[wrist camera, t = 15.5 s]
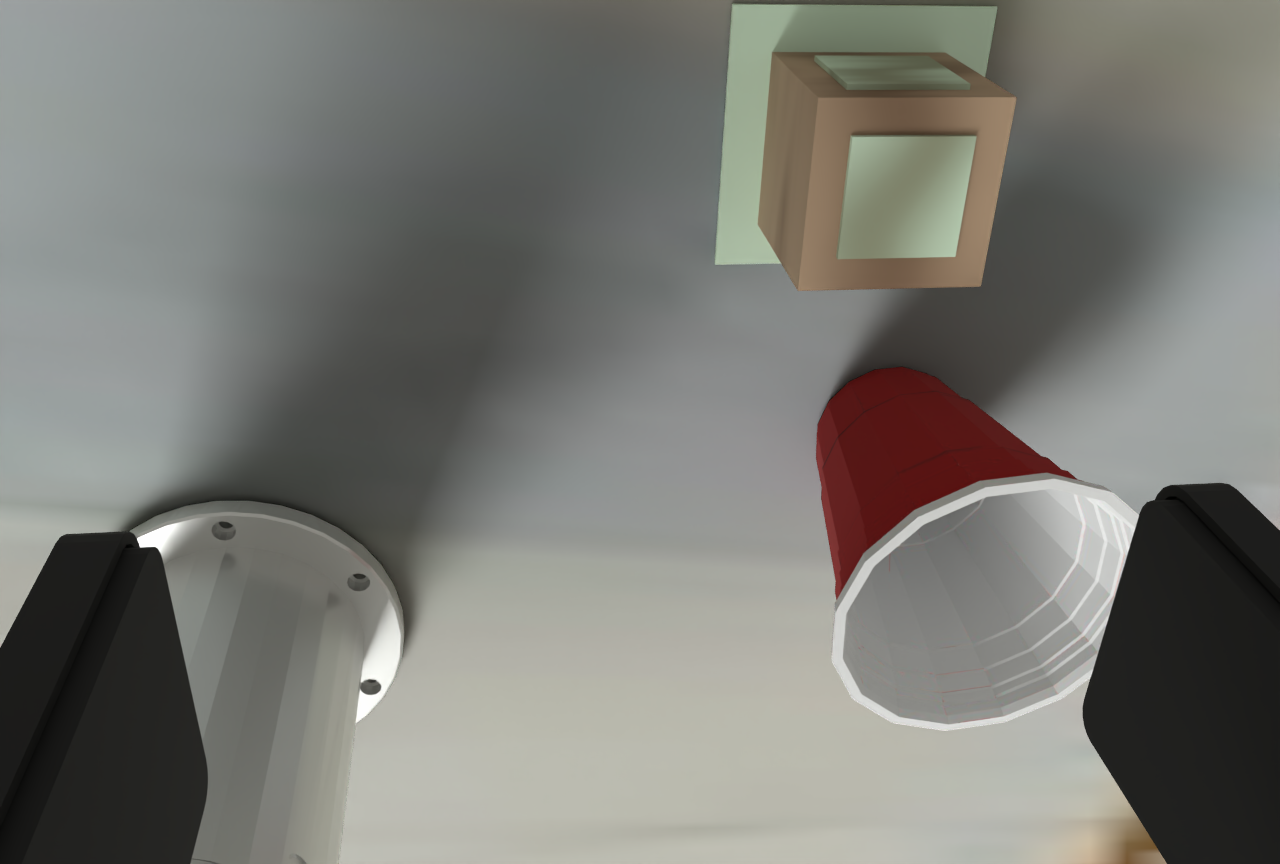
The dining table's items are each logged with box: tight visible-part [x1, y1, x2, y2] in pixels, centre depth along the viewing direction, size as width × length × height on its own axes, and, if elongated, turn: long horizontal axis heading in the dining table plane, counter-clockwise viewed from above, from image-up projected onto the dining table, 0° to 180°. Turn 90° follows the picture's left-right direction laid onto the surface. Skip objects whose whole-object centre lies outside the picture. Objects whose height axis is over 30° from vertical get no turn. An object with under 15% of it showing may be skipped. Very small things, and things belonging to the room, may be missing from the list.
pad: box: [715, 4, 998, 265], centre depth 40 cm, size 9×9×1 cm
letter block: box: [758, 52, 1017, 291], centre depth 38 cm, size 6×6×6 cm
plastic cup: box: [816, 367, 1139, 731], centre depth 42 cm, size 11×11×12 cm
